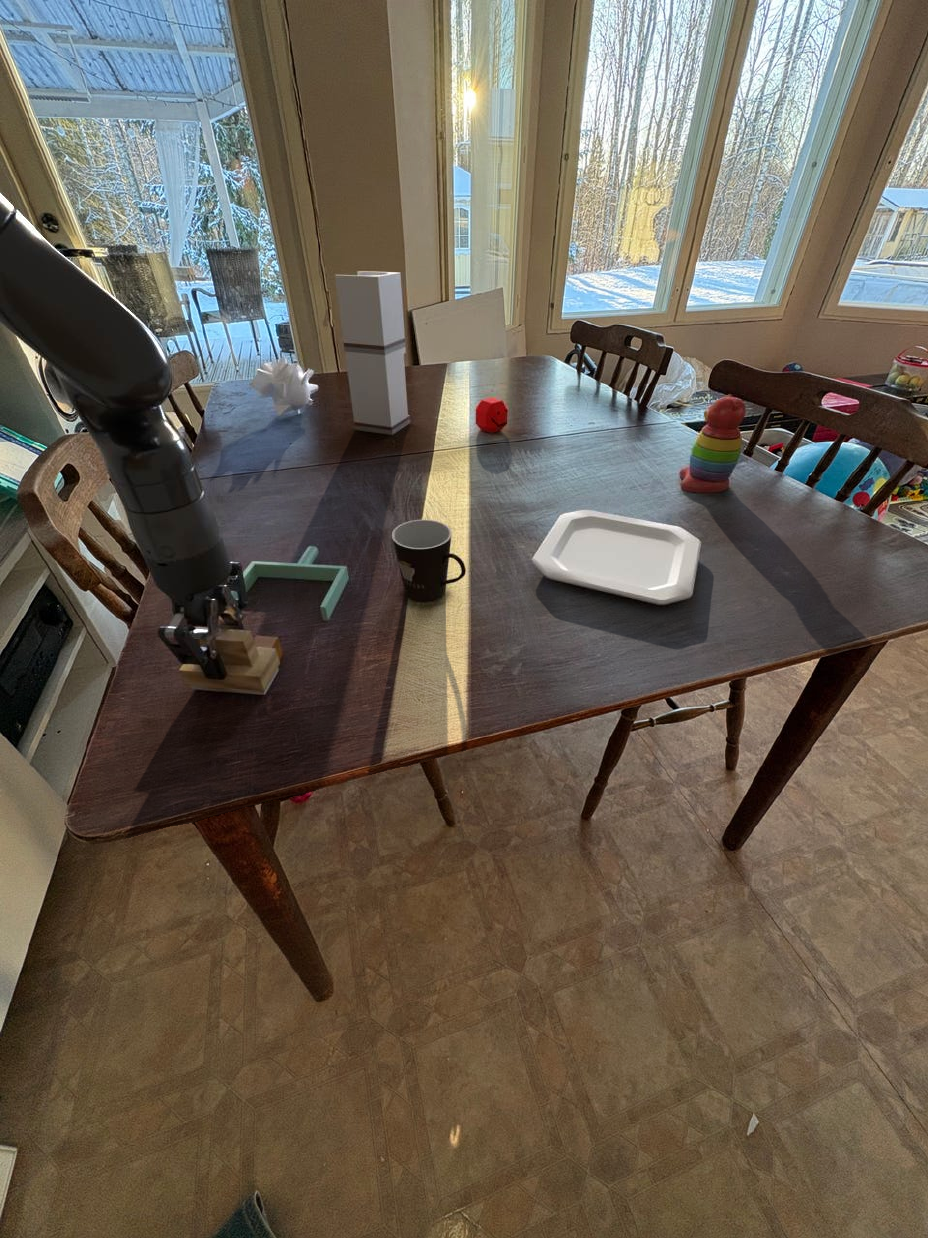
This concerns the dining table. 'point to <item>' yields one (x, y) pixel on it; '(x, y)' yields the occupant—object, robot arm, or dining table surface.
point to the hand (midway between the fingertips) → (228, 660)
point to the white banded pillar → (374, 349)
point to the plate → (621, 556)
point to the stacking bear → (715, 448)
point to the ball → (491, 415)
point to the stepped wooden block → (236, 665)
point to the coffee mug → (424, 558)
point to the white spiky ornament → (284, 385)
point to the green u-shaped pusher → (302, 576)
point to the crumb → (269, 643)
